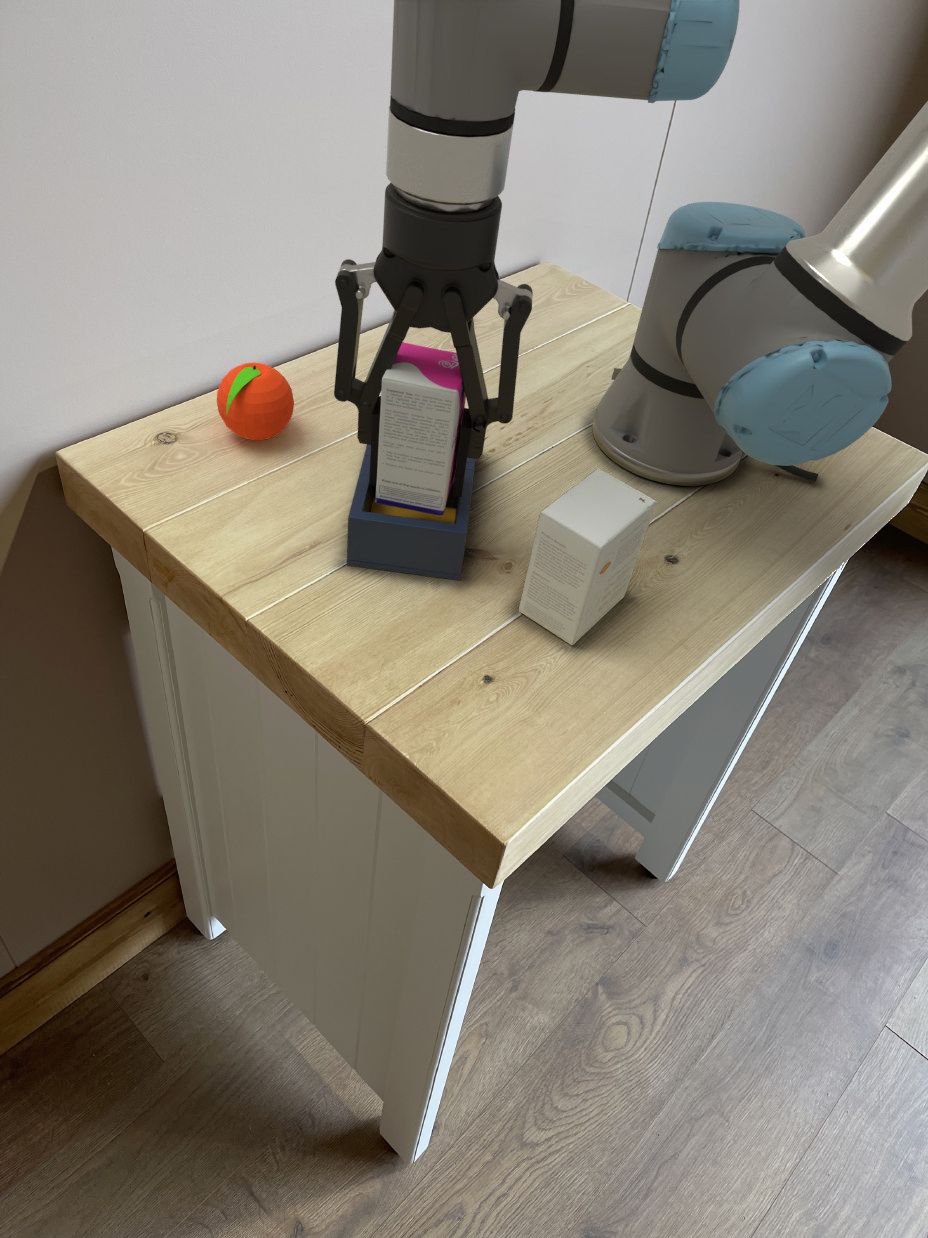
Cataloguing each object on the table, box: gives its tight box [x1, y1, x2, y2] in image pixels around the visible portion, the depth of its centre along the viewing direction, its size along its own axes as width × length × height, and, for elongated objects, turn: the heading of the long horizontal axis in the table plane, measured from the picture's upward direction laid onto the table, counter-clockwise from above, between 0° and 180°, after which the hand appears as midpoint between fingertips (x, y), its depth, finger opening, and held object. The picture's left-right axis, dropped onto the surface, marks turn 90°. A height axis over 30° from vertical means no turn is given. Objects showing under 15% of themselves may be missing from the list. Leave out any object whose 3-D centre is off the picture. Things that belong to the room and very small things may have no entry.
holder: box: [346, 395, 476, 581], centre depth 80 cm, size 18×9×5 cm, turn 176°
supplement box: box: [375, 341, 467, 516], centre depth 71 cm, size 6×6×12 cm
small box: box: [518, 468, 658, 646], centre depth 72 cm, size 8×6×10 cm
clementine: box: [216, 362, 295, 441], centre depth 84 cm, size 8×7×7 cm
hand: (417, 480), depth 75 cm, fingers closed on supplement box, 6 cm apart
